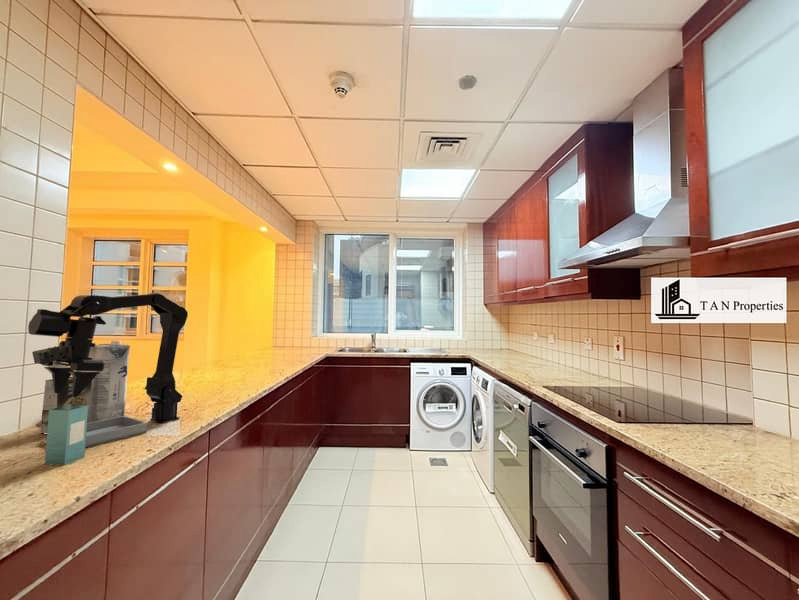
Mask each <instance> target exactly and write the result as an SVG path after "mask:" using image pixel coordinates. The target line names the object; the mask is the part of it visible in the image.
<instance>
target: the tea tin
mask: <svg viewBox="0 0 799 600" xmlns="http://www.w3.org/2000/svg"><path fill="white" fill-rule="evenodd" d="M87 415H88V405H66V406H62V407H58V408H54V409H50V410H49V417H48V429H47V435H46V442H45V455H44V465H45V466H46V465H49V466H68V465H69V464H71V463H73V462H77V461H78V459H79V460H81V459H83V458H85V454H86V453H85V451H86V450H85V449H86V448H85V441H86V428H87ZM80 458H81V459H80Z"/></svg>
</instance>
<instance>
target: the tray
mask: <svg viewBox="0 0 799 600" xmlns="http://www.w3.org/2000/svg"><path fill="white" fill-rule="evenodd" d="M147 430H148V422H147V421H146V422H145V421H143V420H139V419H137V418H134V417H130V416H127V415H124V416H120V417H115V418H110V419H105V420H100V421H95V422H88V423H87V428H86V441H85V449H87V448H91V447H94V446H95V447H96V446H98V445H103V444H107V443H110V442H115V441H119V440H122V439H123V440H124V439H127V438H130V437H135V436H139V435H143V434H147V432H148V431H147ZM86 447H87V448H86Z"/></svg>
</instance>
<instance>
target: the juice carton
mask: <svg viewBox="0 0 799 600" xmlns="http://www.w3.org/2000/svg"><path fill="white" fill-rule="evenodd" d="M130 349H131V345H130V344H122V341H121V340H111V341H110V343H102V344H99V343H98V344H95V347H91V350H90V354H89V357H90V358H92V360H99V361H102V362H103V363H104V364H105V366H104V370H103V371H97V372H100V373H99V374H97V375H96V376H95V377H94V378H93V379H92V386H91V397H90V409H89V421H88V423H90V422H95V421H100V420H105V419H110V418H115V417H120V416H125V412H126V411H125V410H126V399H127V387H128V386H127V385H128V384H127V383H128V371H129V359H130V358H129V357H130Z"/></svg>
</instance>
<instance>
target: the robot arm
mask: <svg viewBox="0 0 799 600" xmlns="http://www.w3.org/2000/svg"><path fill="white" fill-rule="evenodd" d="M147 306H150V307H151V308H152V310H153V311H154V312H155V313H156V314H157V315H158V316H159V324H160V327H161V329H162V333H161V340H160V346H159V351H158V357H157V361H156V367H155V368H156V369H155V372H154V374H153V375H152V376H151V377H150V376H149V377H147V378H146V383H145V384H146V385H145V387H144V390H146V391H145V393H146V395H147V396H148V397H149V398H150V401H151V402H152V403H153V407H152V408H151V416H150V417H151V418H150V420H149V421H150V422H154V423H156V424H162V423H168V422H171V421H175V420H179V419H180V417H179V416H178V403H181V401H182V399H183V395H182V394H181V393H180V392H179V391H177V390H176V378H175V376H174V373H173V371H174V365H175V358H176V353H177V347H178V340H179V335H180V331H181V330H182V329H183V328H184V326H185V325H186V322H187V319H188V315H189V314H188V311H187V309H186V308H185V307H184V306H180V305H179V304H177V303H176V302H174V301H172V300H170V299H169V298H167V297H165V296H164V295H163V294H162V293H158V292H157V293H156V292H155V293H153V292H149V293H146V294H135V295H134V294H131V295H120V296H108V295H107V296H106V295H94V294H93V295H90V294H88V295H86V294H83V295H82V294H81V295H77V296H75V297H74V298H73V299H72V300H71V302H70V304H69V305H67V306H66V307H65V308H63V309H62V310H61V311H53V310H48V309H44V308H43V309H42V308H38V309H37V311H36V313H35V314H34V315H33V317H32V318H31V320H29V323H28V327H27V330H28V334H29V335H30V336H31V335H32V336H41V337H42V336H44V337H45V336H46V337H56V338H58V337H59V338H60V337H62V336H64V334H66V336H65V339H64V340H61V341H59V343H58V345H57V346H53V347H48V348H43V349H38V350H33V351H32V353H31V354H32V357H33V361H34V364H39V365H42V366H44V369H45V370H47V371H48V372H49V373H51V378H52V379H53V386H54V393H60V392H61V390H62V389H63V387H64V386H65V384H66V383H67V381H68V379H69V378H70V377H73V388H72V397H78V396H79V394H80V393H81V392H82V391H83V390H84V389H85V387H86V386H87V385H88V384H89V383H90V382H91V381H92V379H93V378H94V377H95V376H96V375H97V374H99V373H100V372H97V371H103V370H104V366H105V364H104V363H103V362H102V361H99V360H92V358H90V357H89V354H90V350H91V347H95V345H96V343H95V342H93V340H94V337H95V333H96V328H97V325H103V326H104V325H107V322H106V321H105V320H104V319H103V318H102V316H100V315H101V314H104V313H108V312H111V311H114V310H118V309H124V308H126V309H127V308H135V307H138V308H139V307H147ZM87 316H94V317H87ZM72 318H73V319H72ZM74 318H78V319H74Z"/></svg>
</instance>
